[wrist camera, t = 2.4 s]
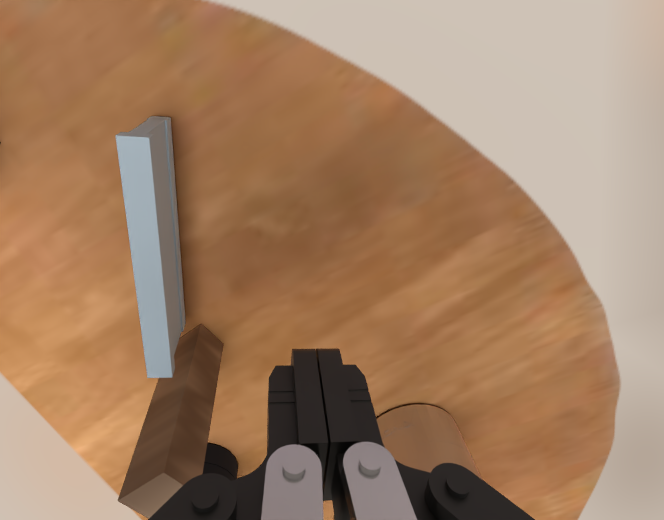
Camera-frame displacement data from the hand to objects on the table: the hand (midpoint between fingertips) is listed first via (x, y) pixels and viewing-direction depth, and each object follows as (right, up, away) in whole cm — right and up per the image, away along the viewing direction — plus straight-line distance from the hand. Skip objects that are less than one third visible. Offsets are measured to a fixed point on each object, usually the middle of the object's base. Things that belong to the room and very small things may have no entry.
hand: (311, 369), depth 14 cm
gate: (-10, +5, +13) cm, 17 cm away
